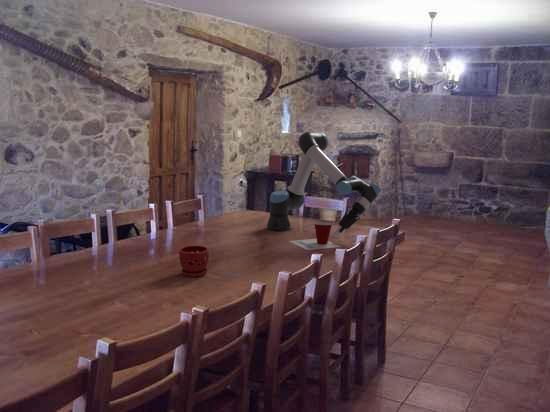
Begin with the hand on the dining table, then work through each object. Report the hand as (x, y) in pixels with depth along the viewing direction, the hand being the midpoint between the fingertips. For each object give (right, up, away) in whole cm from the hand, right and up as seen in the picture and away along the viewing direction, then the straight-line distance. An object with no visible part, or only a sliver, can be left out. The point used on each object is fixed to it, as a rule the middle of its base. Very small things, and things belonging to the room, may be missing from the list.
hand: (334, 235), depth 329 cm
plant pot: (-71, -14, -70) cm, 101 cm away
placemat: (-12, -4, -5) cm, 14 cm away
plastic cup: (-8, -4, -3) cm, 9 cm away
